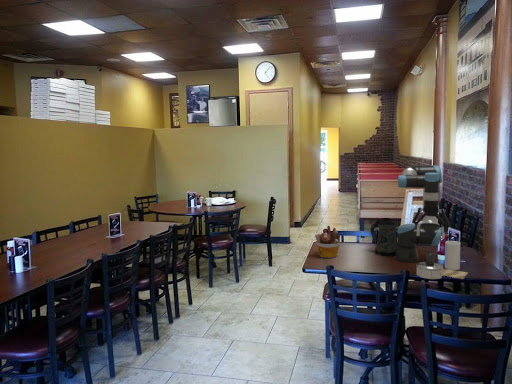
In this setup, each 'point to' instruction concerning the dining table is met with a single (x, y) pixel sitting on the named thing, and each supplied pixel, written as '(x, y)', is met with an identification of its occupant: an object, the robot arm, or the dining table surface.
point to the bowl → (429, 273)
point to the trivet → (454, 274)
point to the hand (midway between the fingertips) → (430, 237)
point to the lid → (430, 263)
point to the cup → (452, 255)
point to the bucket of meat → (328, 243)
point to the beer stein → (385, 237)
